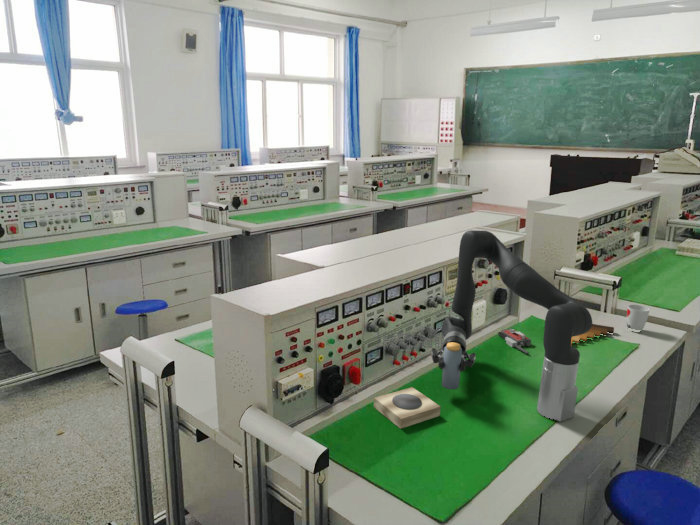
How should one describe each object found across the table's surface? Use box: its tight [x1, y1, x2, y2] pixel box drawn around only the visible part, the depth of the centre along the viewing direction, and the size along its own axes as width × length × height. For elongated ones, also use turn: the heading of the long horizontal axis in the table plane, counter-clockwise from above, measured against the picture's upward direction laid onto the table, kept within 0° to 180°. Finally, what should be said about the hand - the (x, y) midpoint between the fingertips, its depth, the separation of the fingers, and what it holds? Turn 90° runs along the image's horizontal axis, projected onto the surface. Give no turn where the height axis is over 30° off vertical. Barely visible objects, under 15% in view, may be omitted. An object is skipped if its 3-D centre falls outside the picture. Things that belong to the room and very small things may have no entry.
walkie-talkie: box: [497, 328, 532, 355], centre depth 207 cm, size 9×4×20 cm
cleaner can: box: [441, 342, 462, 390], centre depth 163 cm, size 5×5×13 cm
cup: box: [626, 304, 650, 331], centre depth 225 cm, size 8×8×10 cm
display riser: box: [373, 386, 442, 430], centre depth 156 cm, size 13×14×3 cm
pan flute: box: [571, 323, 615, 347], centre depth 217 cm, size 25×3×25 cm
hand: (451, 367), depth 160 cm, fingers closed on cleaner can, 5 cm apart
